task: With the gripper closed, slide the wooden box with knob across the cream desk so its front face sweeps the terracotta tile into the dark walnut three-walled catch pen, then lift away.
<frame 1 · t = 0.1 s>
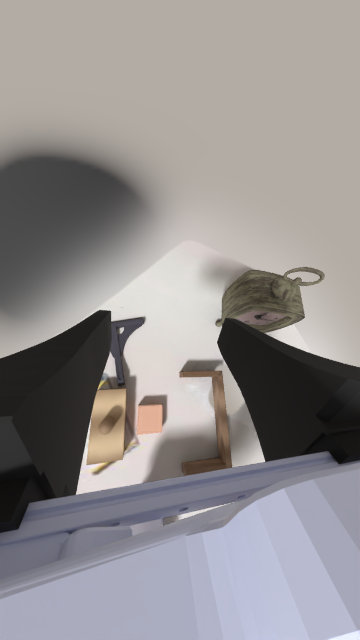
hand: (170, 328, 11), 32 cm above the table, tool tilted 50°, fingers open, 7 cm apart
tile: (149, 416, 37), on the table
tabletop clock: (233, 319, 50), on the table
bracket: (117, 352, 40), on the table
wooden box with knob: (110, 419, 35), on the table
catch pen: (199, 415, 39), on the table
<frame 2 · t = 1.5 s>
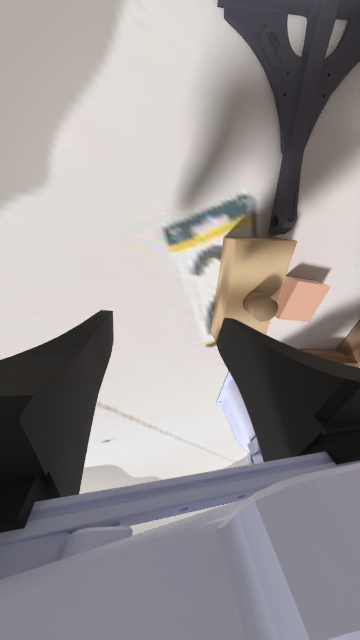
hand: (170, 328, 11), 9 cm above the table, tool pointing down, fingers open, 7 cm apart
tile: (289, 295, 23), on the table
bracket: (285, 140, 15), on the table
wooden box with knob: (237, 290, 21), on the table
catch pen: (350, 305, 26), on the table
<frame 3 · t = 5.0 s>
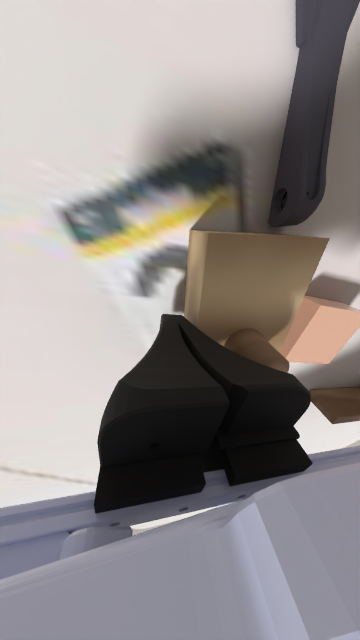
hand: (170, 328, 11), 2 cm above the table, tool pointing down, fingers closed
tile: (299, 322, 15), on the table
bracket: (303, 24, 7), on the table
wooden box with knob: (220, 317, 13), on the table, touching gripper
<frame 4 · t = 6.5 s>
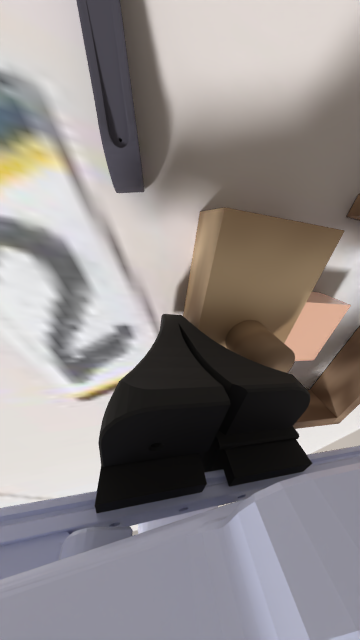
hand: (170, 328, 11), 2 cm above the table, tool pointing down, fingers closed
tile: (280, 318, 14), on the table, touching wooden box with knob
wooden box with knob: (221, 310, 13), on the table, touching gripper, tile
catch pen: (324, 330, 16), on the table
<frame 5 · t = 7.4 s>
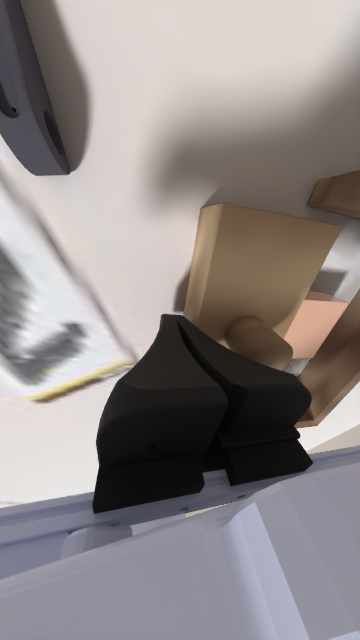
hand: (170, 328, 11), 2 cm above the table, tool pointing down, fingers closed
tile: (279, 316, 14), on the table
wooden box with knob: (221, 307, 13), on the table
catch pen: (297, 328, 15), on the table
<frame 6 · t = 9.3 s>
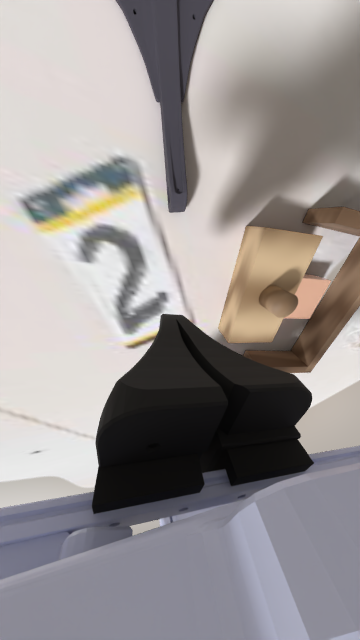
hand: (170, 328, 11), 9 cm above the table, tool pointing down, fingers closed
tile: (287, 292, 22), on the table
bracket: (164, 86, 12), on the table
wooden box with knob: (251, 285, 21), on the table
catch pen: (297, 301, 23), on the table
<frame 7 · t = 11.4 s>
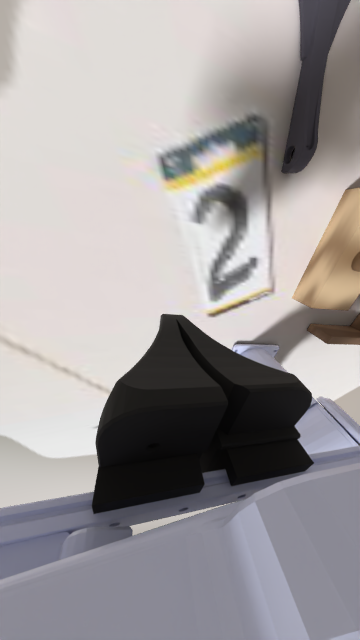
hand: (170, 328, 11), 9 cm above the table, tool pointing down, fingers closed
bracket: (304, 47, 13), on the table
wooden box with knob: (331, 254, 21), on the table
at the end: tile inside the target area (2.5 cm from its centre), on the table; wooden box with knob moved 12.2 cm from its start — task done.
